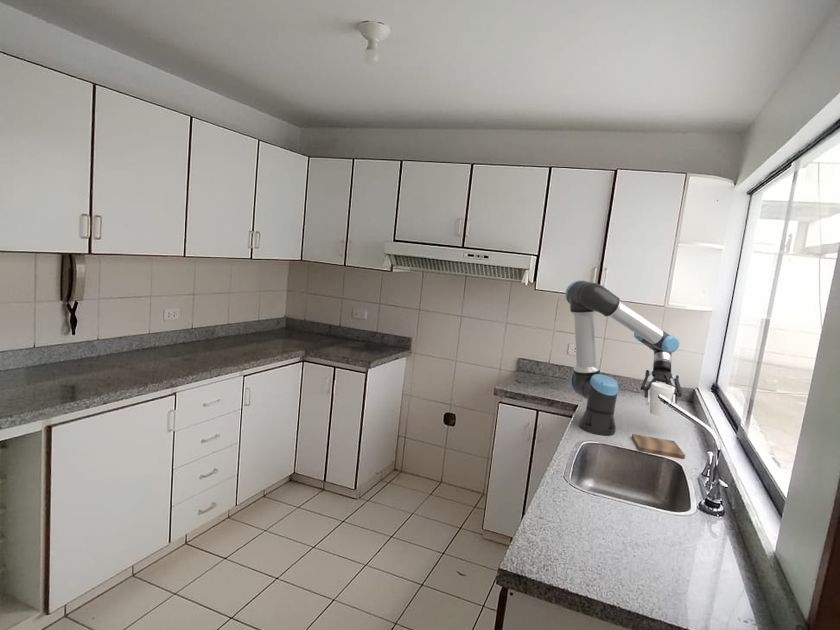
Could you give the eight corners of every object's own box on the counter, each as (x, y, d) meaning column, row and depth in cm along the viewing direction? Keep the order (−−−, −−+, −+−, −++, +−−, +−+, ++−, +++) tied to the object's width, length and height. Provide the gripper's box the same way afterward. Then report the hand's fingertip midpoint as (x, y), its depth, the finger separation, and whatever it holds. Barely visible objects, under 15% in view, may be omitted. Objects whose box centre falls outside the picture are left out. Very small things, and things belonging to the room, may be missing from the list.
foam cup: (671, 419, 221) (677, 390, 219) (649, 415, 223) (654, 386, 221) (665, 412, 230) (671, 384, 229) (644, 408, 232) (649, 381, 230)
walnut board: (639, 450, 206) (639, 447, 206) (631, 437, 221) (632, 433, 221) (684, 458, 203) (685, 455, 202) (673, 444, 218) (674, 441, 218)
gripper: (686, 373, 236) (686, 415, 223) (635, 364, 242) (631, 405, 229) (690, 364, 230) (690, 407, 217) (638, 355, 236) (634, 396, 224)
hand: (660, 406), depth 223 cm, fingers closed on foam cup, 9 cm apart
